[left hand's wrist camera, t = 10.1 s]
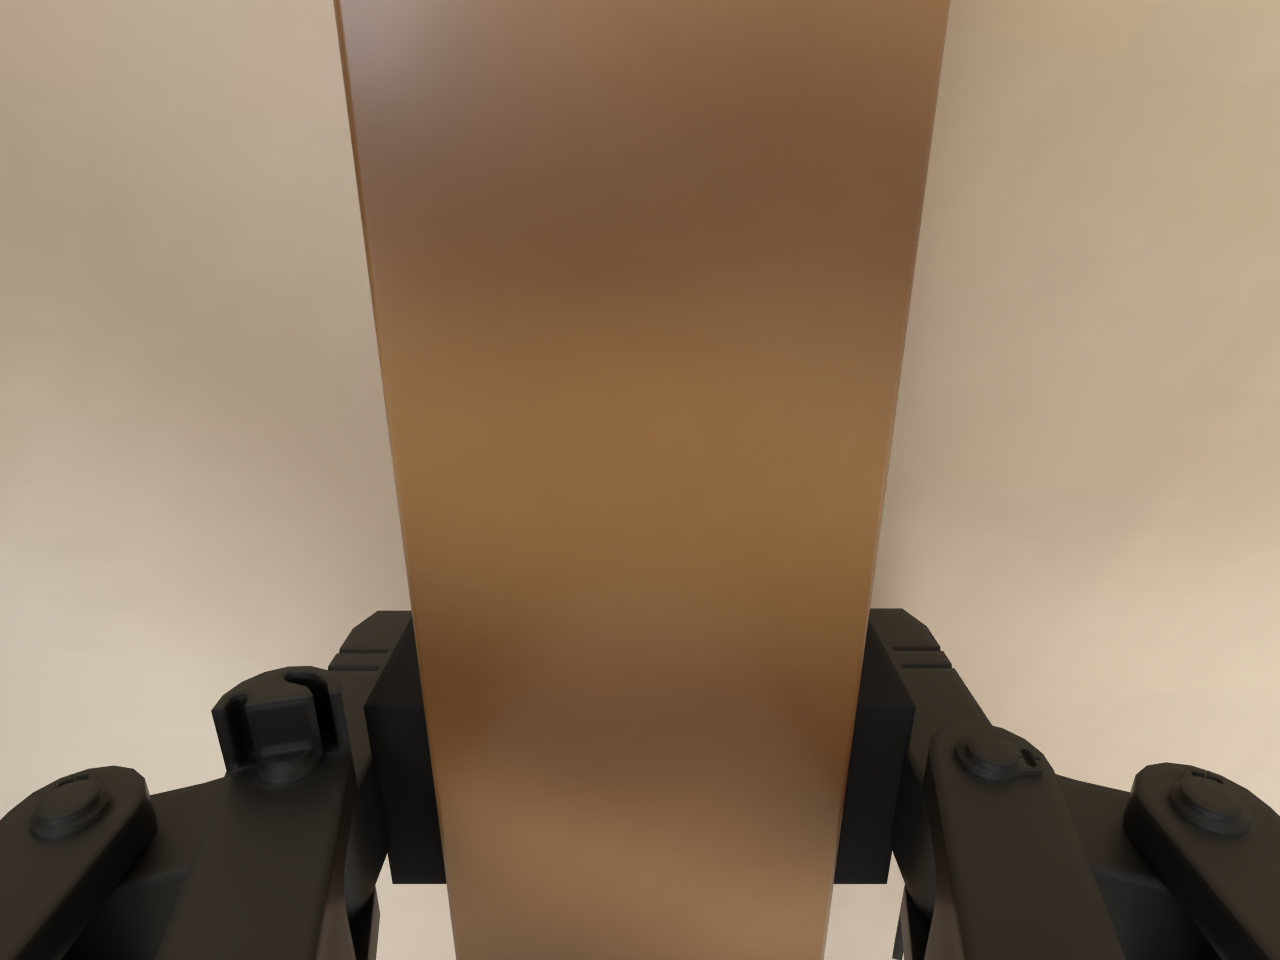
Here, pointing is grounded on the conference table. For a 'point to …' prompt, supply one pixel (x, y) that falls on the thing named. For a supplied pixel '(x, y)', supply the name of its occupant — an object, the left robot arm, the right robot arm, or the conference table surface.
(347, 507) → the conference table surface
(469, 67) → the bar
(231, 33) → the conference table surface
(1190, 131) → the conference table surface
